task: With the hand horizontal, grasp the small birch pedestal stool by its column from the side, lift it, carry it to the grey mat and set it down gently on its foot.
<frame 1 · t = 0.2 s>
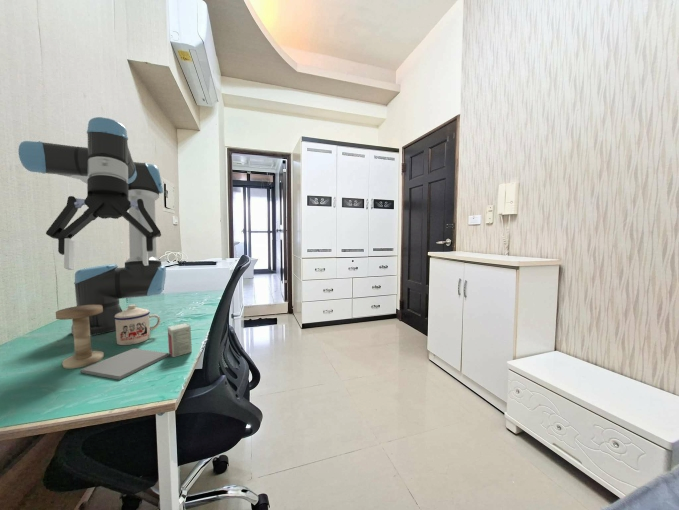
hand: (109, 266, 61), 27 cm above the table, tool tilted 15°, fingers open, 13 cm apart
mat: (127, 363, 71), on the table
teacup with lid: (139, 339, 88), on the table
small box: (180, 353, 77), on the table
stool: (84, 361, 72), on the table
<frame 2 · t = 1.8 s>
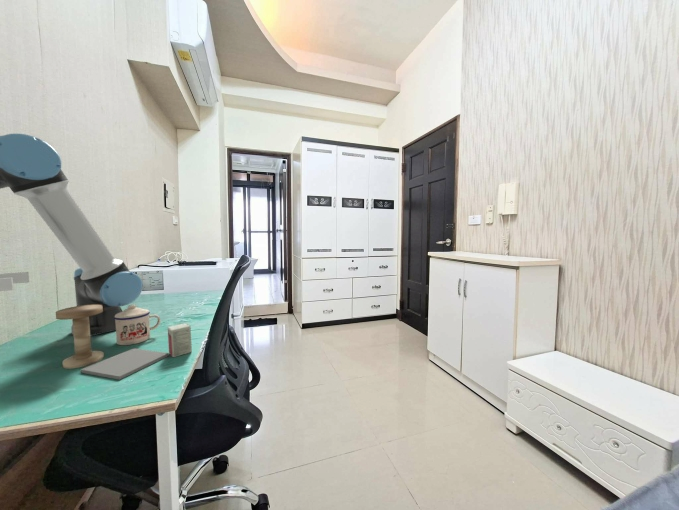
hand: (21, 280, 64), 23 cm above the table, tool horizontal, fingers open, 13 cm apart
nothing on the table moved.
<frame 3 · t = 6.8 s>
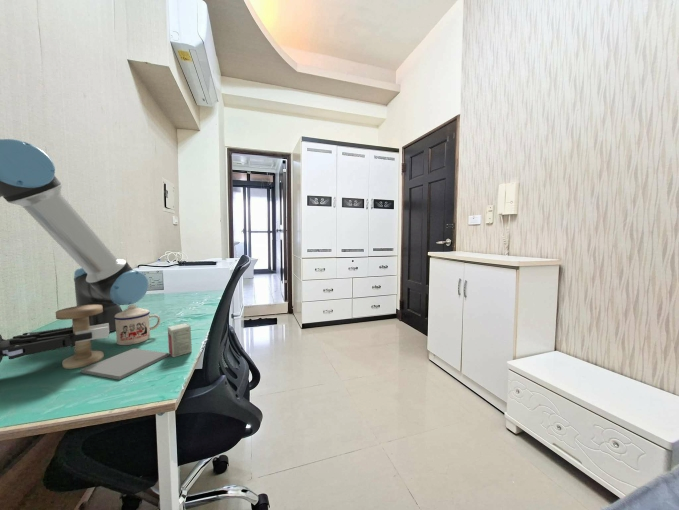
hand: (108, 329, 75), 8 cm above the table, tool horizontal, fingers closed on stool, 3 cm apart
stool: (83, 361, 72), on the table, touching gripper
everything else where it was.
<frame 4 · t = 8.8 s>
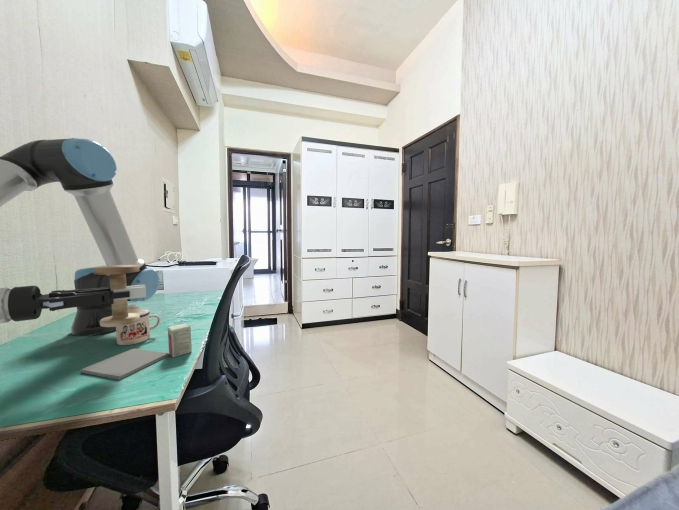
hand: (145, 290, 72), 19 cm above the table, tool horizontal, fingers closed on stool, 3 cm apart
stool: (120, 321, 69), point 11 cm above the table, touching gripper
everything else where it was.
when the fingers open (10 cm above the table, at t = 11.2 s): stool drops 1 cm, resting on mat.
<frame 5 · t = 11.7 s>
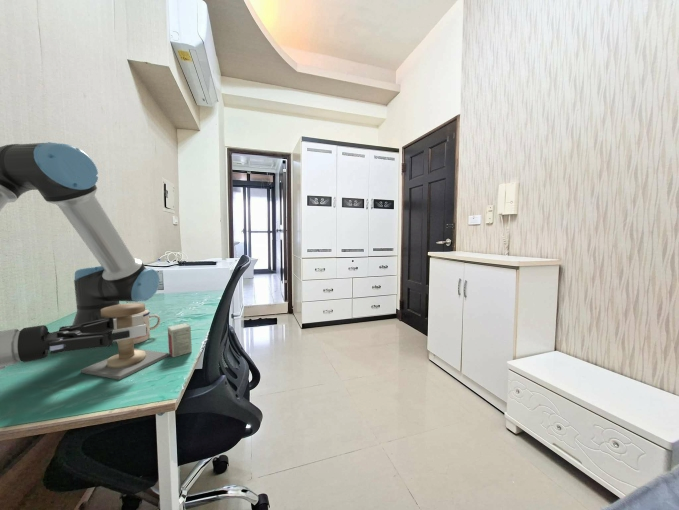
hand: (144, 324, 73), 10 cm above the table, tool horizontal, fingers open, 10 cm apart
stool: (127, 360, 71), point 1 cm above the table, touching mat
everything else where it was.
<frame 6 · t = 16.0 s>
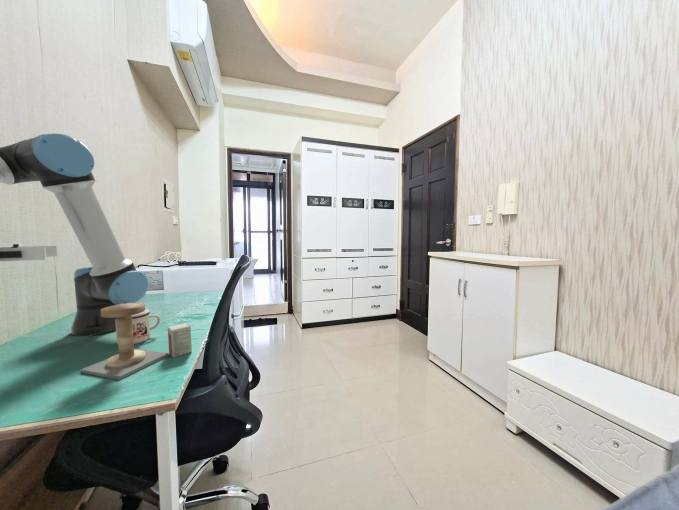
hand: (51, 252, 65), 30 cm above the table, tool horizontal, fingers open, 13 cm apart
nothing on the table moved.
at the end: stool 0.1 cm from the mat (horizontally); stool tilted 0°; the gripper is holding nothing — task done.
